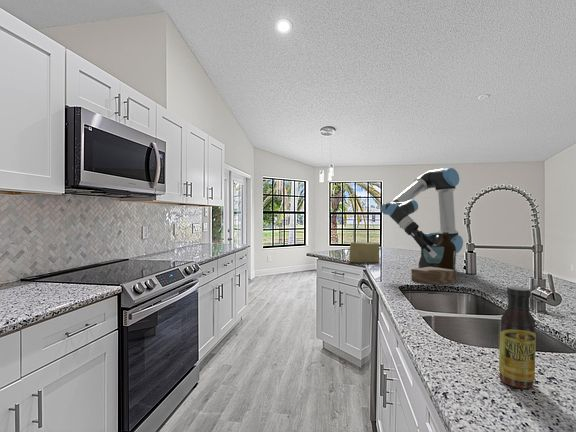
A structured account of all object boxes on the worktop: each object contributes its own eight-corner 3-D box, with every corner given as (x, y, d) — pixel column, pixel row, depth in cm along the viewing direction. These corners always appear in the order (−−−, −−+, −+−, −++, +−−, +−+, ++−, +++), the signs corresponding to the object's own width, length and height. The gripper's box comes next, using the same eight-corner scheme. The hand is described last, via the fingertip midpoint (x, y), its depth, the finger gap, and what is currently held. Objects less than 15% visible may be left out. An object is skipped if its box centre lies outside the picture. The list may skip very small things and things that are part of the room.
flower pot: (439, 262, 189) (438, 245, 189) (444, 264, 180) (444, 246, 180) (422, 261, 189) (422, 245, 189) (427, 264, 181) (427, 246, 181)
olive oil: (436, 276, 198) (435, 232, 198) (436, 273, 207) (435, 231, 207) (456, 277, 193) (456, 232, 193) (456, 274, 203) (455, 232, 203)
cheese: (349, 262, 261) (349, 242, 261) (349, 261, 271) (349, 242, 271) (379, 263, 257) (379, 243, 257) (378, 261, 266) (378, 242, 266)
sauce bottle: (502, 387, 70) (501, 289, 70) (496, 374, 76) (494, 284, 76) (541, 393, 68) (539, 291, 68) (531, 379, 74) (530, 285, 74)
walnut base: (430, 277, 196) (430, 266, 196) (456, 281, 182) (456, 270, 182) (411, 280, 187) (411, 269, 187) (438, 285, 174) (437, 273, 174)
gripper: (411, 229, 203) (439, 257, 194) (396, 231, 185) (426, 262, 175) (420, 220, 200) (449, 248, 191) (406, 221, 182) (437, 252, 172)
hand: (438, 255), depth 183 cm, fingers closed on flower pot, 11 cm apart
